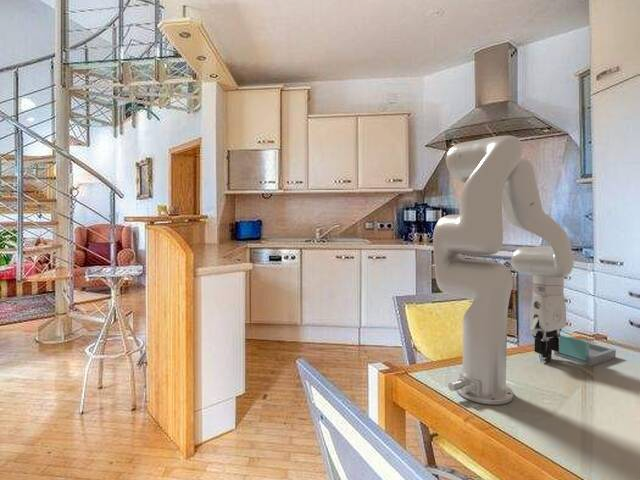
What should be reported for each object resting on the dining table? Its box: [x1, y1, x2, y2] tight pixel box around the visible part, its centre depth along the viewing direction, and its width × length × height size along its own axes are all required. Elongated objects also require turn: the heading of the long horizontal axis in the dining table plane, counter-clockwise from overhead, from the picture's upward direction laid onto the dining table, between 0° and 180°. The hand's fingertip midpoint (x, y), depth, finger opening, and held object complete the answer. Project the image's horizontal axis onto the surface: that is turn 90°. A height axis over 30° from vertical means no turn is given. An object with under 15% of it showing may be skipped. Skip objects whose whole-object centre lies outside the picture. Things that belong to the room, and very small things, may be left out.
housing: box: [553, 342, 617, 367], centre depth 113 cm, size 13×10×2 cm
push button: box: [538, 327, 557, 364], centre depth 109 cm, size 7×5×10 cm
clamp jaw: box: [558, 334, 590, 361], centre depth 110 cm, size 2×7×5 cm, turn 27°
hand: (546, 351), depth 110 cm, fingers closed on push button, 4 cm apart
